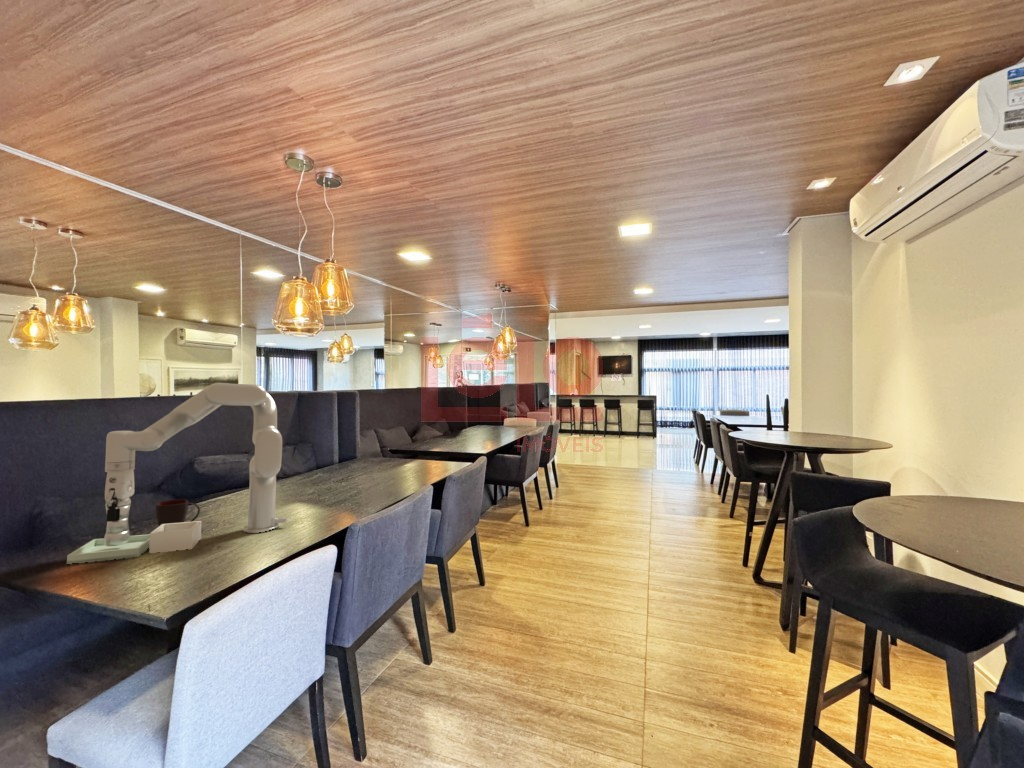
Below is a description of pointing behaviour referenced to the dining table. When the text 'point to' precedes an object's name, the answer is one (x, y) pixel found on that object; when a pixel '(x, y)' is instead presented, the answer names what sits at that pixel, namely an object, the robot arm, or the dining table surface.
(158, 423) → the robot arm
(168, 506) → the mug
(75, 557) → the tray
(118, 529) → the plastic bottle
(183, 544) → the white storage bin
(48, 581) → the dining table surface
